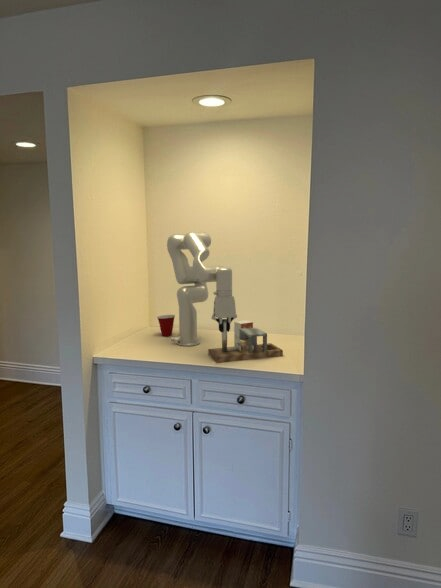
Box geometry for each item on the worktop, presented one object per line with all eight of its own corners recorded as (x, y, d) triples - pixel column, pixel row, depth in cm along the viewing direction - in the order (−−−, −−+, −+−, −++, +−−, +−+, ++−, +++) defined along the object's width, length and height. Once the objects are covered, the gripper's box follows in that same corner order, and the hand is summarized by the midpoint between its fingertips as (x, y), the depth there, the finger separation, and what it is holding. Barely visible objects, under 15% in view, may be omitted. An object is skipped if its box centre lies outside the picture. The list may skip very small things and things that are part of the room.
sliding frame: (224, 353, 204) (224, 320, 202) (219, 349, 211) (219, 318, 208) (253, 350, 208) (253, 318, 206) (248, 346, 215) (248, 316, 213)
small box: (240, 347, 225) (240, 323, 223) (234, 345, 231) (233, 321, 229) (253, 345, 230) (253, 321, 228) (246, 343, 235) (246, 319, 233)
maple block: (242, 351, 208) (242, 342, 207) (239, 348, 212) (239, 340, 212) (251, 350, 209) (251, 341, 209) (247, 348, 214) (247, 339, 213)
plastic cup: (164, 332, 261) (164, 313, 259) (179, 334, 255) (178, 314, 254) (153, 336, 252) (152, 316, 250) (168, 338, 246) (167, 318, 244)
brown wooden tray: (216, 363, 200) (216, 338, 198) (208, 354, 213) (207, 331, 211) (282, 356, 210) (283, 332, 208) (270, 348, 223) (271, 326, 221)
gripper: (210, 295, 198) (210, 334, 200) (242, 293, 203) (242, 331, 205) (205, 293, 205) (206, 331, 207) (237, 291, 210) (237, 328, 212)
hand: (224, 331), depth 206 cm, fingers closed on sliding frame, 2 cm apart
